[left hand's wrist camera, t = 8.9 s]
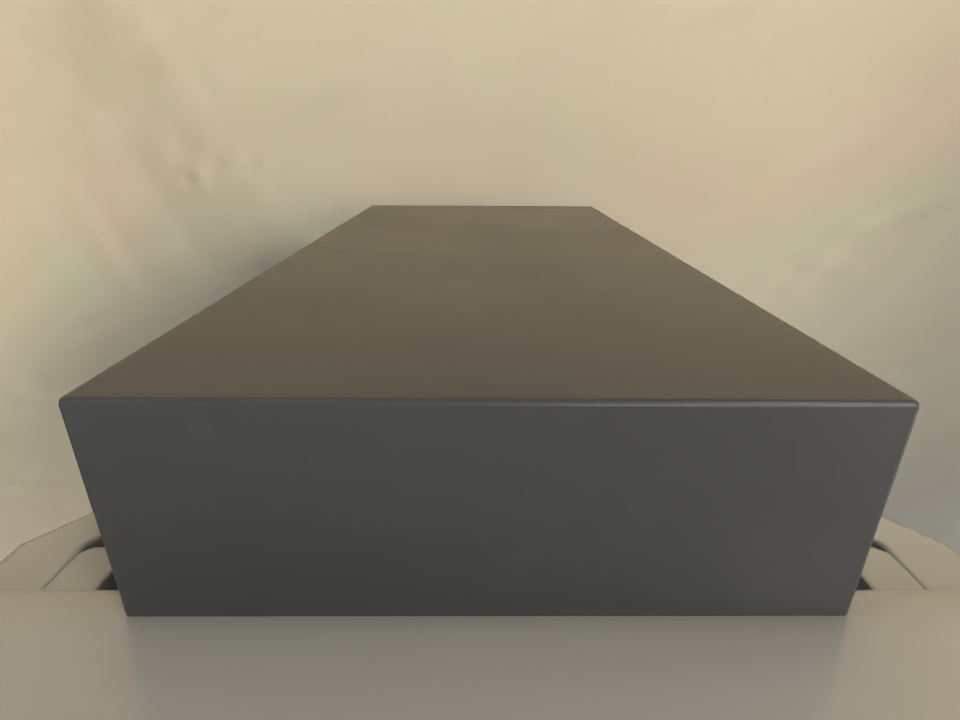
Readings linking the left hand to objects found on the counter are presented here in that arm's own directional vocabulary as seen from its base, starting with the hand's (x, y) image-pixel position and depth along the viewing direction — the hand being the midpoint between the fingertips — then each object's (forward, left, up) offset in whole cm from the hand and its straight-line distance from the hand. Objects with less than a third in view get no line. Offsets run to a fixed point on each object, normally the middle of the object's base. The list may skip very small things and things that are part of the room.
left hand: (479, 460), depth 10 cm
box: (+10, 0, -7) cm, 12 cm away
